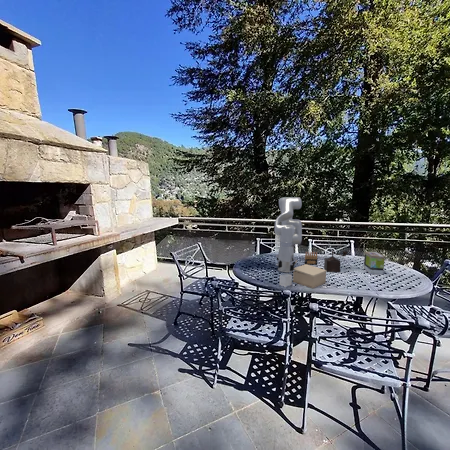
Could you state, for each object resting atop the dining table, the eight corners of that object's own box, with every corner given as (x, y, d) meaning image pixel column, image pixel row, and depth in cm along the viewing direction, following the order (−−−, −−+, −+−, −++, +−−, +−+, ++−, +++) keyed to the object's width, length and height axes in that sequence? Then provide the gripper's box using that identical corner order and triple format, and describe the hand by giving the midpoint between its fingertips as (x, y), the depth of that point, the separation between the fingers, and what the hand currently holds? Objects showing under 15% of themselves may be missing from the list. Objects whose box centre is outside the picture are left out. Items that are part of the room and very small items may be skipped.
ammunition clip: (304, 264, 221) (305, 251, 219) (304, 264, 222) (304, 251, 221) (317, 265, 219) (318, 251, 218) (316, 264, 221) (317, 251, 220)
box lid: (292, 269, 178) (292, 268, 178) (305, 265, 188) (306, 264, 188) (313, 276, 165) (313, 275, 165) (326, 271, 176) (326, 270, 176)
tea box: (383, 274, 193) (385, 256, 191) (369, 274, 195) (371, 255, 193) (376, 269, 208) (377, 251, 206) (363, 268, 210) (364, 251, 208)
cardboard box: (293, 281, 179) (293, 271, 178) (305, 276, 189) (306, 266, 188) (313, 288, 167) (313, 276, 166) (325, 282, 177) (326, 271, 176)
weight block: (279, 285, 173) (279, 275, 172) (285, 282, 177) (285, 273, 176) (285, 287, 169) (285, 277, 168) (291, 284, 174) (291, 275, 173)
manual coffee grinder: (326, 272, 200) (327, 250, 197) (323, 268, 211) (324, 247, 208) (347, 273, 198) (348, 251, 195) (343, 268, 208) (344, 247, 206)
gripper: (273, 243, 173) (272, 267, 175) (294, 247, 160) (293, 272, 162) (279, 242, 178) (279, 265, 180) (300, 245, 165) (299, 270, 167)
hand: (285, 269), depth 171 cm, fingers open, 9 cm apart
